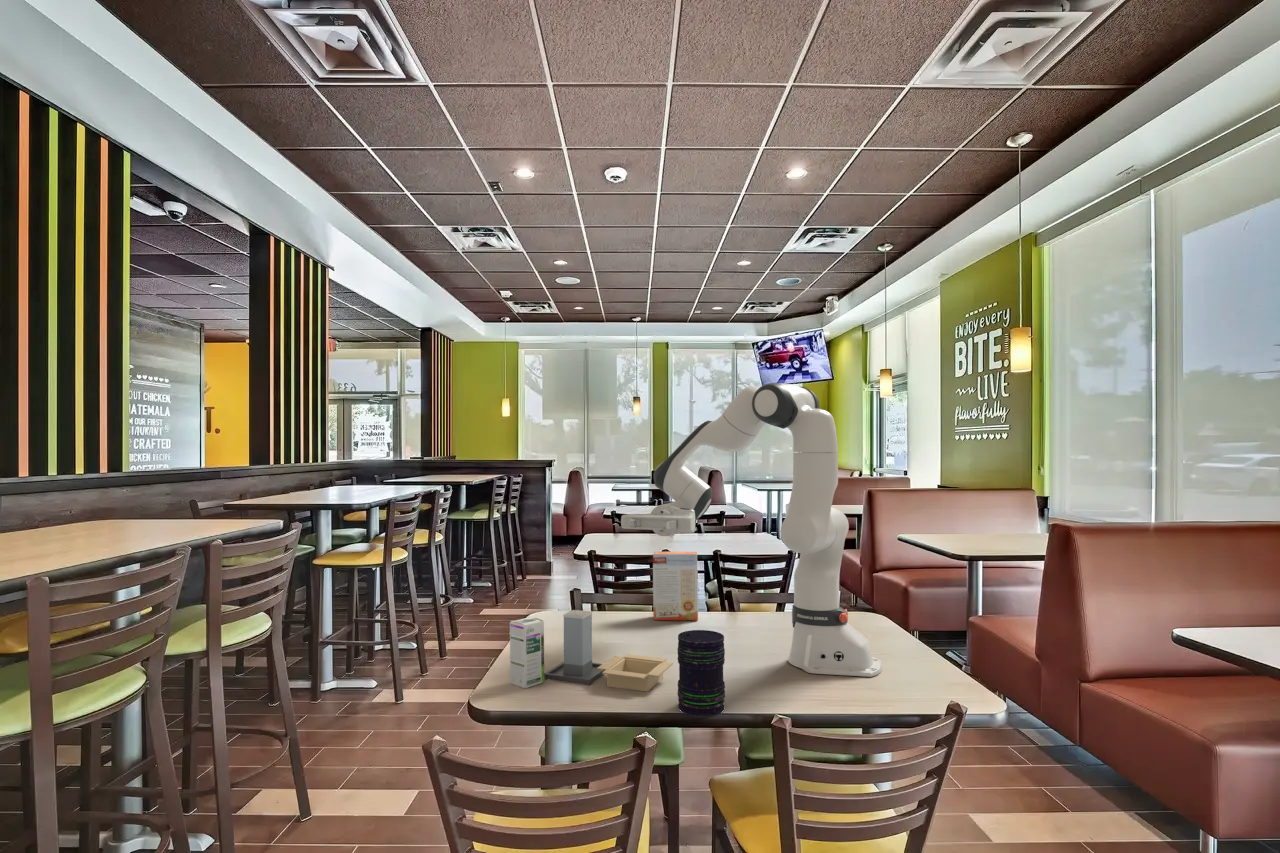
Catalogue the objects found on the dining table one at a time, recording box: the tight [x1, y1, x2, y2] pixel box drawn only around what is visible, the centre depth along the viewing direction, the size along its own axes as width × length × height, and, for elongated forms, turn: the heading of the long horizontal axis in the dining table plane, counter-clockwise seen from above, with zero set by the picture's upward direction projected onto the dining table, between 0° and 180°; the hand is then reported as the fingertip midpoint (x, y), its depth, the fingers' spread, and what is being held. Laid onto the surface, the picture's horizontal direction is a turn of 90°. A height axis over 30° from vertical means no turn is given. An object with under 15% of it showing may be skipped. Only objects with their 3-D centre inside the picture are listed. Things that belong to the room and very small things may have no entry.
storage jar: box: [677, 629, 726, 718], centre depth 149 cm, size 10×10×15 cm
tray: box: [544, 661, 605, 686], centre depth 171 cm, size 12×12×1 cm
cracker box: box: [652, 551, 699, 622], centre depth 226 cm, size 14×6×21 cm, turn 84°
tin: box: [563, 609, 593, 676], centre depth 171 cm, size 5×5×14 cm
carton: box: [597, 653, 674, 692], centre depth 166 cm, size 15×15×4 cm
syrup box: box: [509, 616, 546, 689], centre depth 165 cm, size 6×6×14 cm
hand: (647, 525), depth 188 cm, fingers open, 8 cm apart
